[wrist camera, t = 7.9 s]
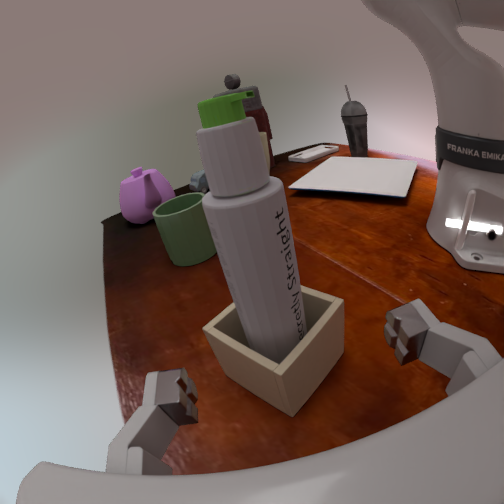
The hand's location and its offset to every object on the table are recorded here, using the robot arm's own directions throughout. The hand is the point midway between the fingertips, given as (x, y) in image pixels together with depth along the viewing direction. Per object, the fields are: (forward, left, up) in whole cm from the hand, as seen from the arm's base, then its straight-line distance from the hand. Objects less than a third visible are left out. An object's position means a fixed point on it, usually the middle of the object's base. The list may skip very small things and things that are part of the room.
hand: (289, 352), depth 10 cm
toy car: (+54, -37, -11) cm, 66 cm away
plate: (+18, -48, -11) cm, 52 cm away
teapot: (+56, -20, -11) cm, 60 cm away
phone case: (+40, -66, -11) cm, 78 cm away
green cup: (+30, -14, -11) cm, 35 cm away
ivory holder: (+6, -5, -11) cm, 13 cm away
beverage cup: (+26, -67, -11) cm, 72 cm away
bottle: (+6, -5, -11) cm, 13 cm away
